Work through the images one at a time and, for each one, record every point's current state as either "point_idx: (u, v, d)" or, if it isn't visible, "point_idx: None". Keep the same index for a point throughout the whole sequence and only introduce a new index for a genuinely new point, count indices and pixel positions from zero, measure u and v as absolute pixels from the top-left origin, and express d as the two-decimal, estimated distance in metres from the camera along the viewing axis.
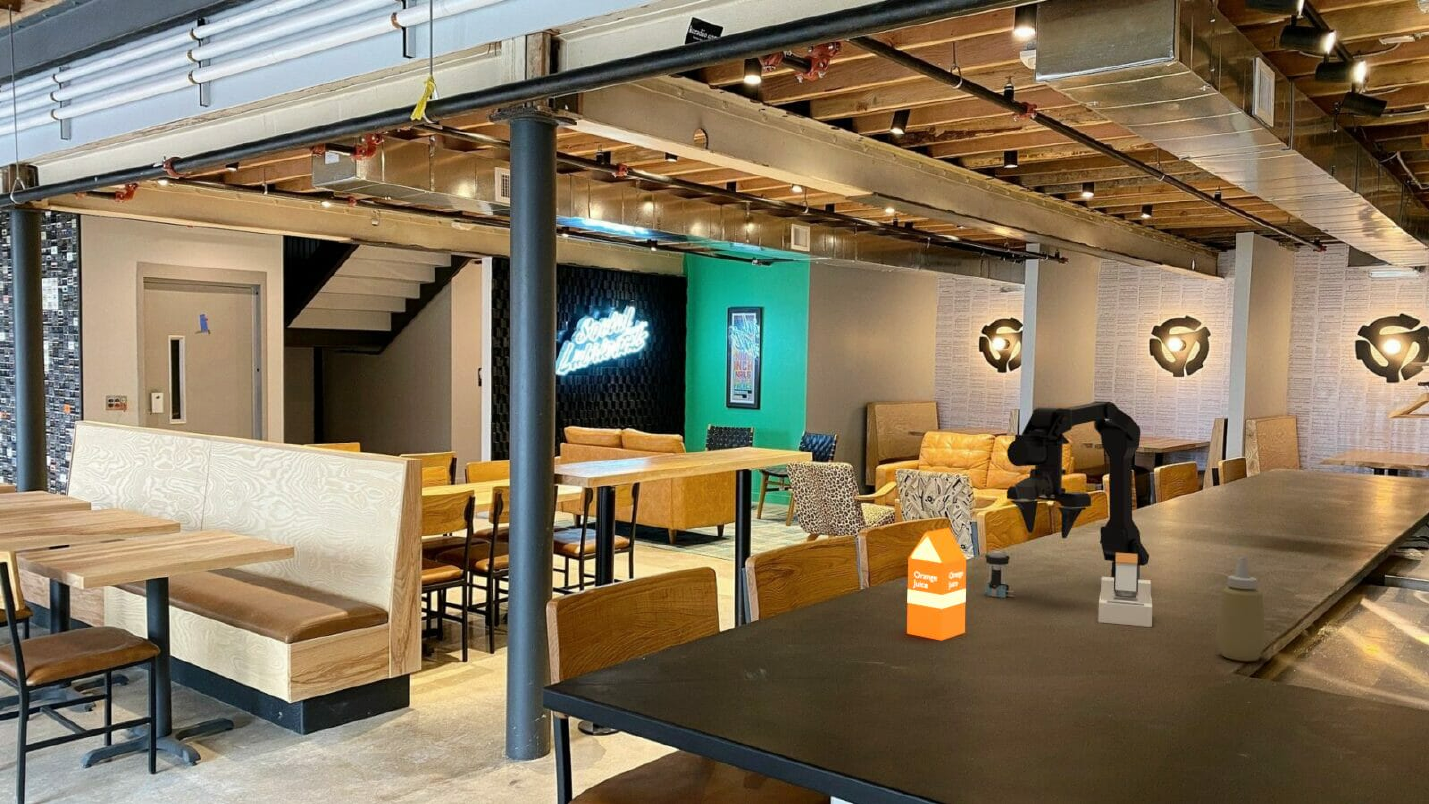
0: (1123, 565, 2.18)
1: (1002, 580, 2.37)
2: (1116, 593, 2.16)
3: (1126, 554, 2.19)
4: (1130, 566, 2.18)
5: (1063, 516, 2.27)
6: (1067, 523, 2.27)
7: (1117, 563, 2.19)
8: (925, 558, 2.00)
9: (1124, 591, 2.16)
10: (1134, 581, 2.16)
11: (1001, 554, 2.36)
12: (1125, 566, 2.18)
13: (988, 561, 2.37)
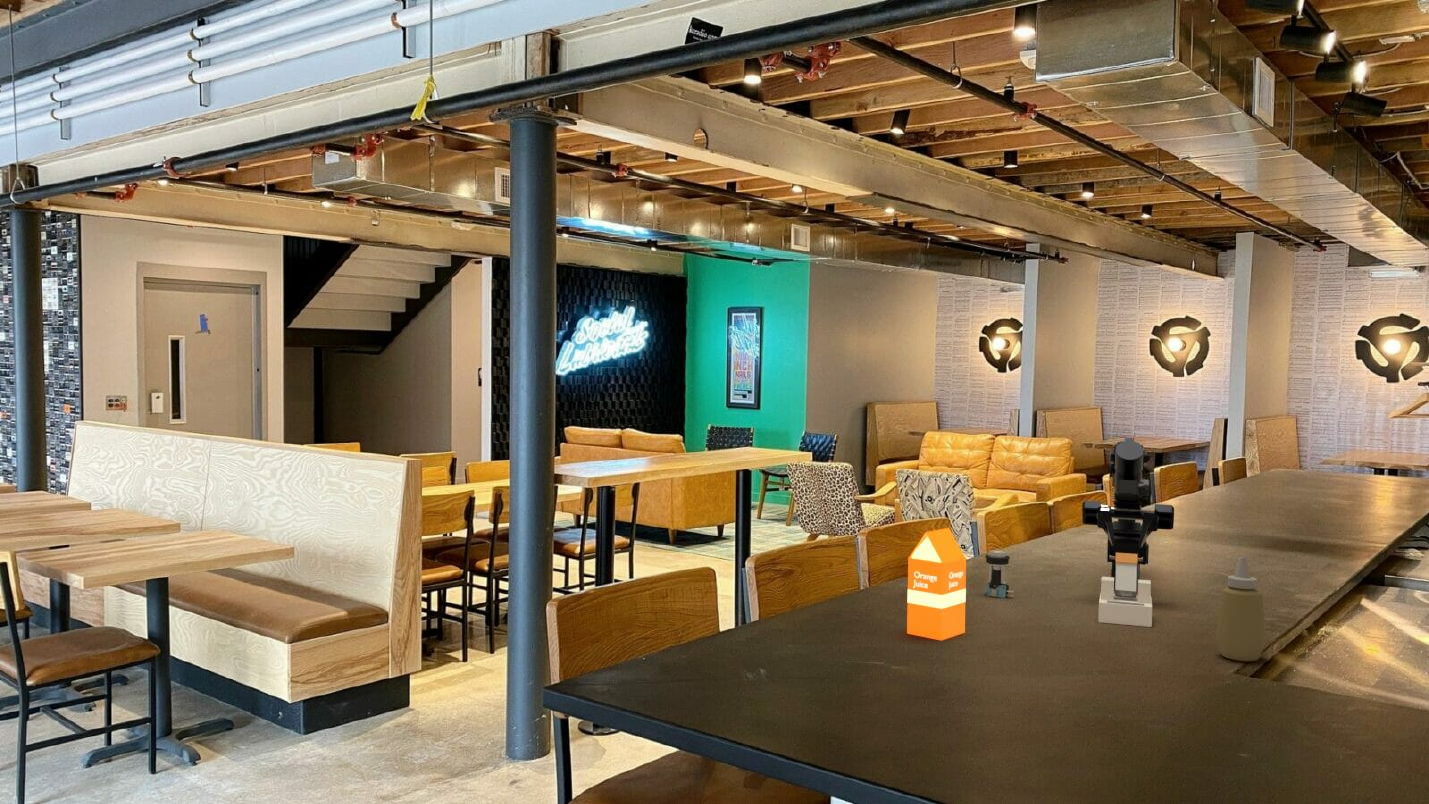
0: (1123, 565, 2.18)
1: (1002, 580, 2.37)
2: (1116, 593, 2.16)
3: (1126, 554, 2.19)
4: (1130, 566, 2.18)
5: (1144, 524, 2.27)
6: (1146, 533, 2.27)
7: (1117, 563, 2.19)
8: (925, 558, 2.00)
9: (1124, 591, 2.16)
10: (1134, 581, 2.16)
11: (1001, 554, 2.36)
12: (1125, 566, 2.18)
13: (988, 561, 2.37)
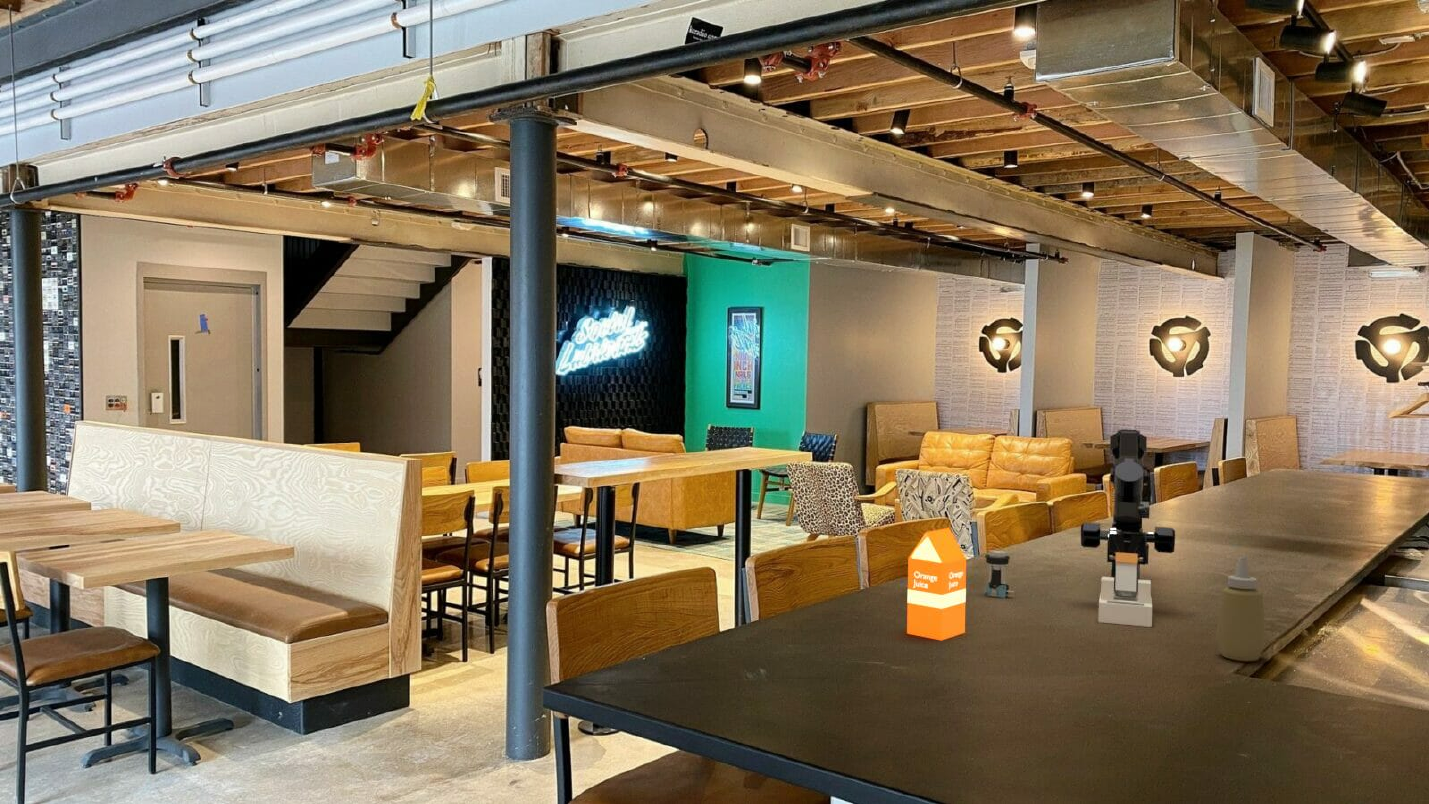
0: (1123, 565, 2.18)
1: (1002, 580, 2.37)
2: (1116, 593, 2.16)
3: (1126, 554, 2.19)
4: (1130, 566, 2.18)
5: (1132, 547, 2.22)
6: None
7: (1117, 563, 2.19)
8: (925, 558, 2.00)
9: (1124, 591, 2.16)
10: (1134, 581, 2.16)
11: (1001, 554, 2.36)
12: (1125, 566, 2.18)
13: (988, 561, 2.37)
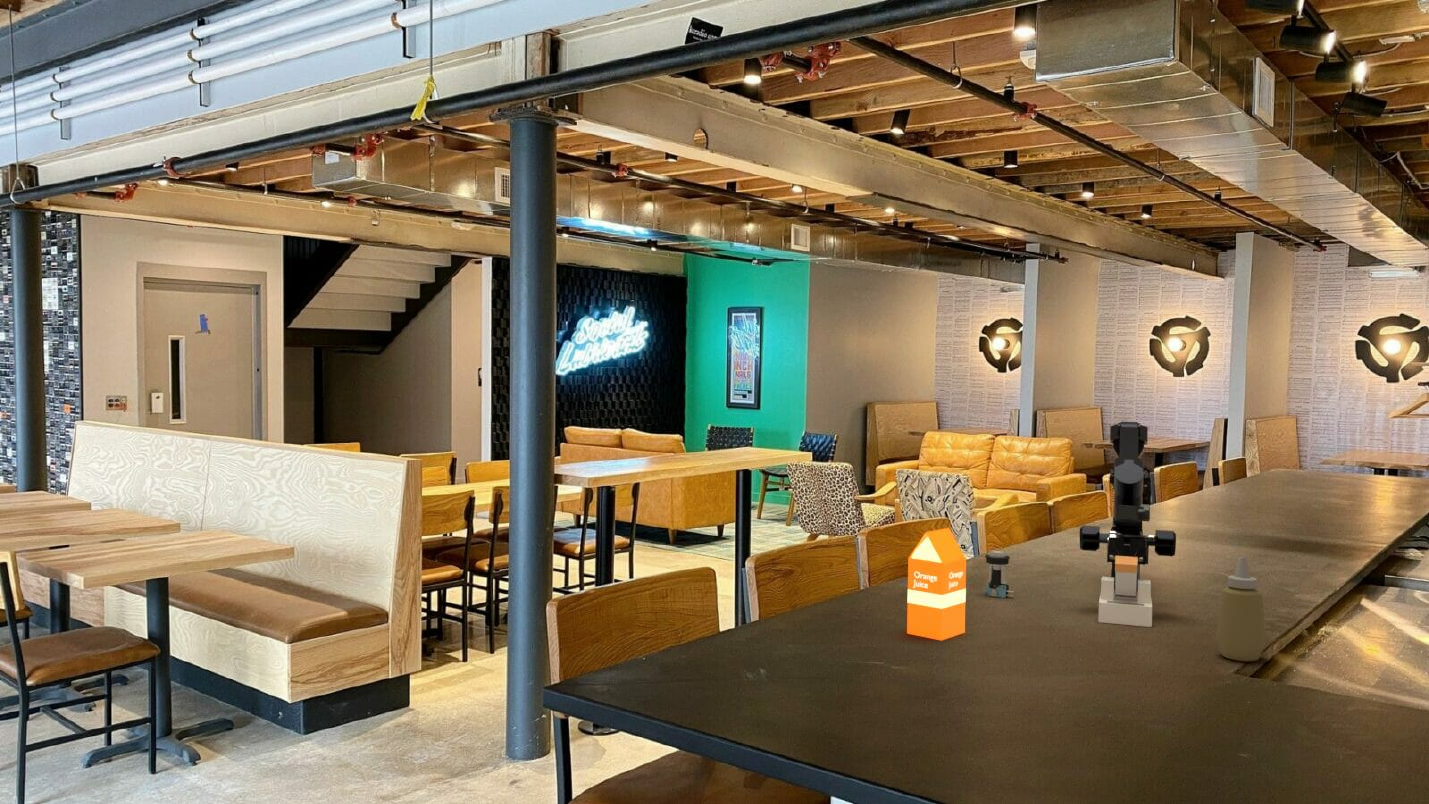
0: (1123, 573, 2.14)
1: (1002, 580, 2.37)
2: None
3: (1126, 565, 2.12)
4: (1130, 574, 2.13)
5: (1132, 550, 2.17)
6: None
7: (1117, 571, 2.14)
8: (925, 558, 2.00)
9: (1124, 595, 2.16)
10: (1134, 587, 2.14)
11: (1001, 554, 2.36)
12: (1125, 574, 2.14)
13: (988, 561, 2.37)
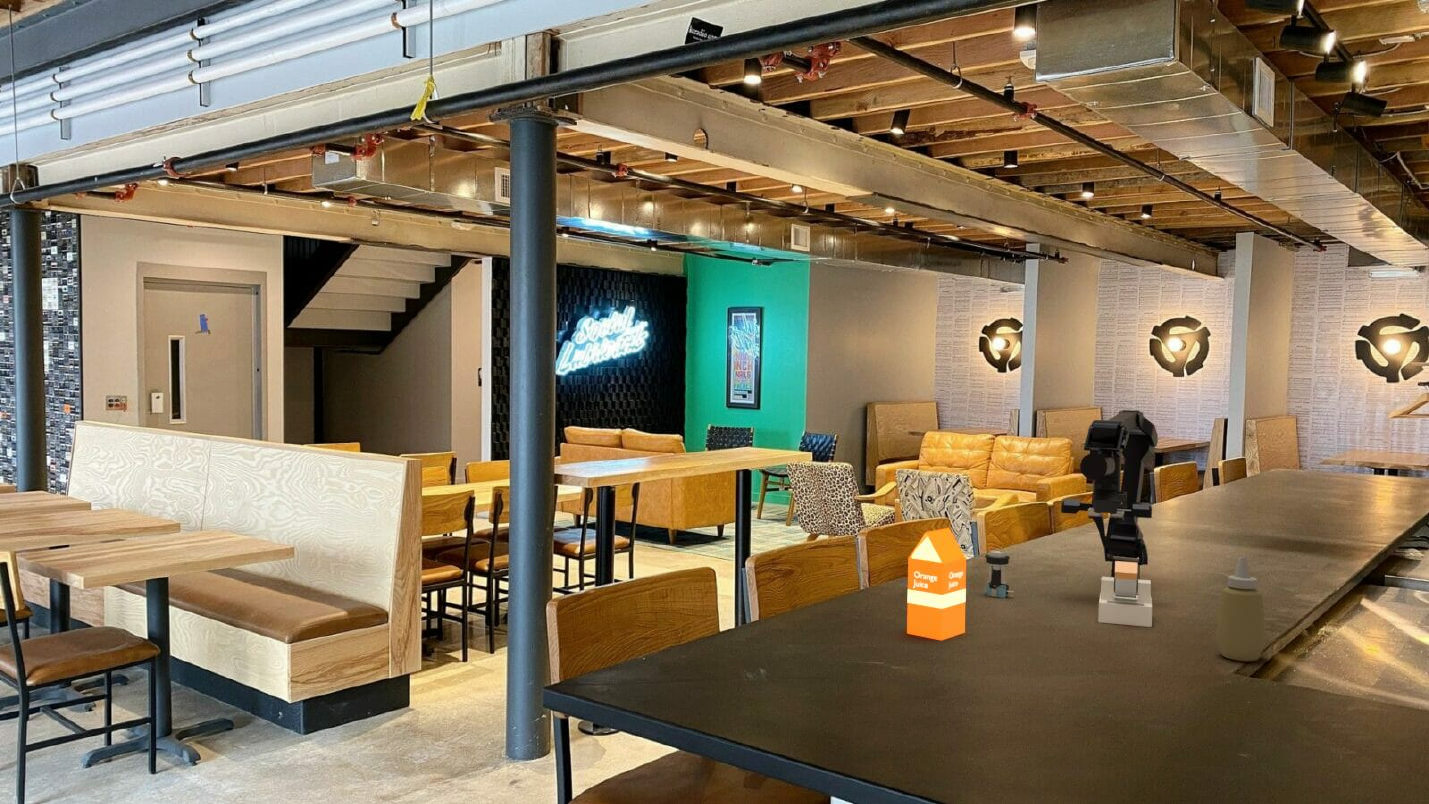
0: (1123, 579, 2.13)
1: (1002, 580, 2.37)
2: None
3: (1125, 573, 2.11)
4: (1130, 580, 2.12)
5: (1110, 525, 2.32)
6: (1111, 532, 2.33)
7: (1116, 577, 2.13)
8: (925, 558, 2.01)
9: (1124, 596, 2.16)
10: (1134, 590, 2.14)
11: (1001, 554, 2.36)
12: (1125, 579, 2.13)
13: (988, 561, 2.37)
